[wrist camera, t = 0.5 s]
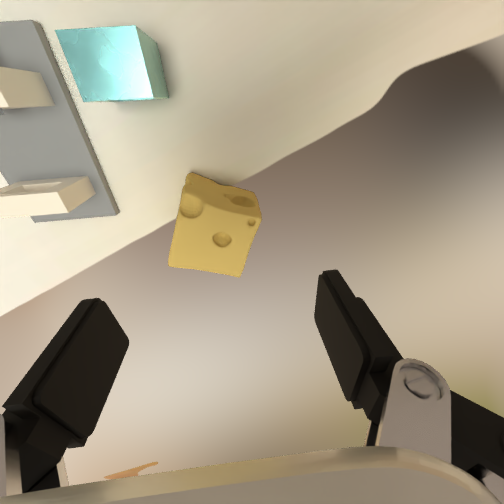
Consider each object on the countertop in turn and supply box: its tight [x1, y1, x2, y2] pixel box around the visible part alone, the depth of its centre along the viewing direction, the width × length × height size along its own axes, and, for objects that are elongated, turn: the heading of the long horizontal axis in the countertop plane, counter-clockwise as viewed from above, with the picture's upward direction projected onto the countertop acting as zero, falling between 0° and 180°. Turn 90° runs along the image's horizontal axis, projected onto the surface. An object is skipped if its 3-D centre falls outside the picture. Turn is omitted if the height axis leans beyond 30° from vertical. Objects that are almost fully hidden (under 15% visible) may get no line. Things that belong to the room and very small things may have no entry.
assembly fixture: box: [0, 20, 119, 223], centre depth 26 cm, size 21×12×8 cm, turn 3°
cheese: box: [168, 173, 262, 277], centre depth 32 cm, size 10×11×10 cm
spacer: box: [55, 25, 169, 102], centre depth 23 cm, size 5×7×7 cm
